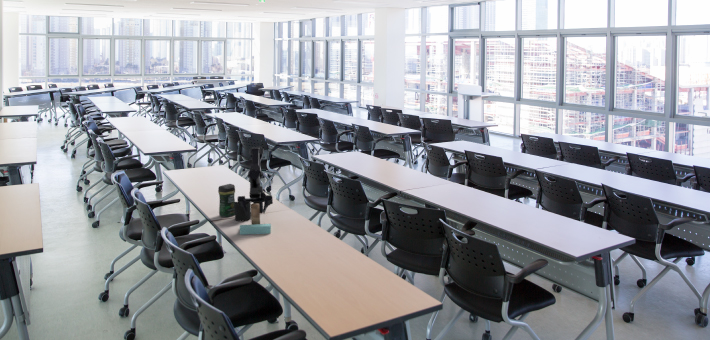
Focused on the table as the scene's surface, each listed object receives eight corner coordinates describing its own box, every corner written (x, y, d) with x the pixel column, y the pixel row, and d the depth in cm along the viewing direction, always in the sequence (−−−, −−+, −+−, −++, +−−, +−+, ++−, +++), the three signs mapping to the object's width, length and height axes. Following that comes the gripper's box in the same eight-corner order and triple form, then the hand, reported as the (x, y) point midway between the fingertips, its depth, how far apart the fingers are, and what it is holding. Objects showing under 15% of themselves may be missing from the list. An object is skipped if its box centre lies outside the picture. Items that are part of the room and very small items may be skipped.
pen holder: (247, 222, 308) (246, 205, 306) (232, 221, 310) (231, 204, 308) (253, 217, 317) (253, 200, 315) (238, 216, 319) (237, 199, 317)
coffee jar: (226, 218, 315) (224, 187, 311) (217, 215, 320) (215, 185, 316) (238, 214, 323) (237, 184, 319) (230, 212, 327) (228, 182, 323)
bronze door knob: (254, 226, 300) (253, 202, 297) (264, 228, 297) (263, 203, 294) (247, 230, 294) (246, 205, 291) (257, 231, 292) (256, 206, 289)
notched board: (241, 227, 299) (241, 220, 298) (270, 226, 301) (270, 219, 300) (239, 234, 287) (239, 227, 286) (270, 233, 289) (270, 226, 288)
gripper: (236, 181, 293) (236, 207, 285) (271, 180, 295) (272, 205, 287) (238, 192, 302) (238, 217, 294) (272, 191, 305) (272, 215, 296)
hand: (255, 213), depth 293 cm, fingers open, 9 cm apart
